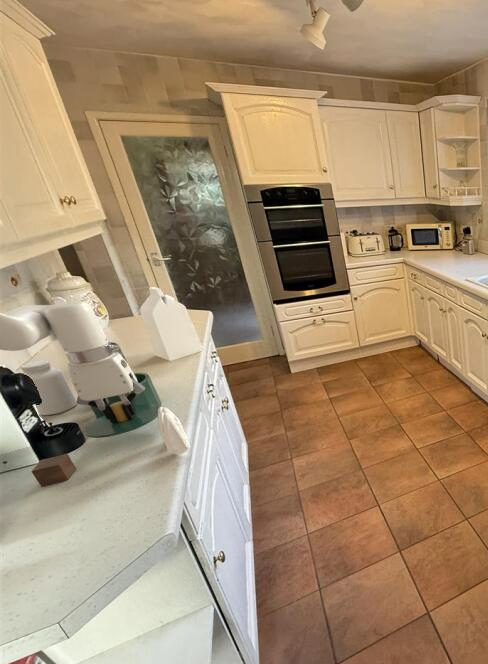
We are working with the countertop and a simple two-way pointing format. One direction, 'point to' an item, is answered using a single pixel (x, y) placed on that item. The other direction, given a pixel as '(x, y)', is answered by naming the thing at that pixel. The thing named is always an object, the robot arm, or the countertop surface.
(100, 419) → the tin lid
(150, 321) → the milk
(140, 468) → the countertop surface
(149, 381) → the tea tin
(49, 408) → the pill bottle
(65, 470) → the block
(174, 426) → the white piece
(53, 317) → the robot arm
